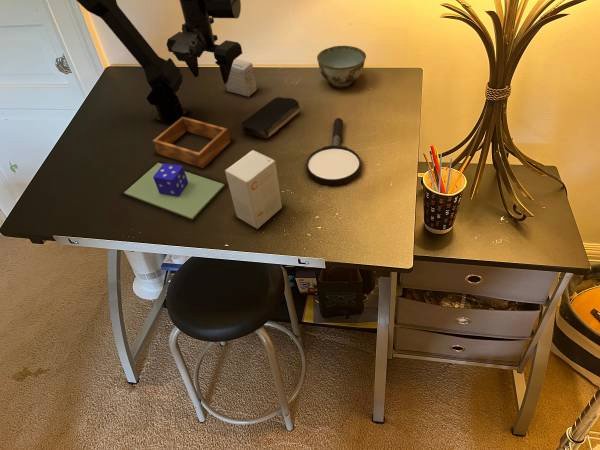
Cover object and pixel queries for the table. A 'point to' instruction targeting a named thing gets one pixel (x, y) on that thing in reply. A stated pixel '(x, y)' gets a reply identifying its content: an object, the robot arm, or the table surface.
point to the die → (170, 179)
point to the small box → (254, 188)
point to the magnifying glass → (334, 161)
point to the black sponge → (271, 117)
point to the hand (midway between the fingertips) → (211, 79)
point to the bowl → (341, 64)
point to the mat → (184, 204)
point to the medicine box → (241, 78)
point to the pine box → (185, 155)
